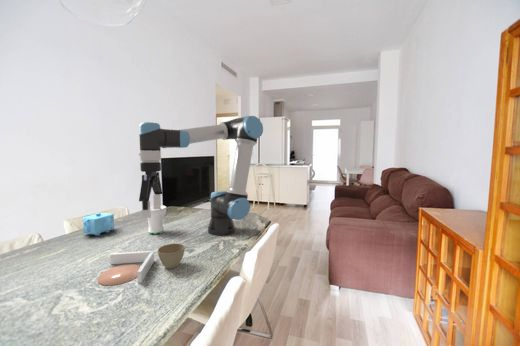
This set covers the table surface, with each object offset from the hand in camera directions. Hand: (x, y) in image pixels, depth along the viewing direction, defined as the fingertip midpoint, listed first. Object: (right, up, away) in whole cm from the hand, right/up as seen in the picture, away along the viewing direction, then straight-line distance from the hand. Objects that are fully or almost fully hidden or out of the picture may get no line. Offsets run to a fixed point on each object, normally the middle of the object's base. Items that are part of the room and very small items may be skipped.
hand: (152, 213), depth 95 cm
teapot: (-45, -17, +33) cm, 58 cm away
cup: (-14, -17, +34) cm, 40 cm away
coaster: (-7, -21, -11) cm, 24 cm away
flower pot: (+9, -20, -4) cm, 23 cm away
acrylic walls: (-6, -20, -9) cm, 23 cm away
